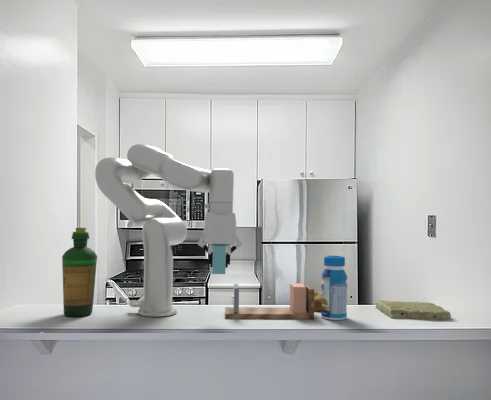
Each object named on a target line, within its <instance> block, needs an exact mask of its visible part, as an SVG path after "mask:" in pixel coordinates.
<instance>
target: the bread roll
mask: <svg viewBox="0 0 491 400" xmlns="http://www.w3.org/2000/svg"><path fill="white" fill-rule="evenodd" d="M321 311H322V291H314V312H321Z"/></svg>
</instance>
